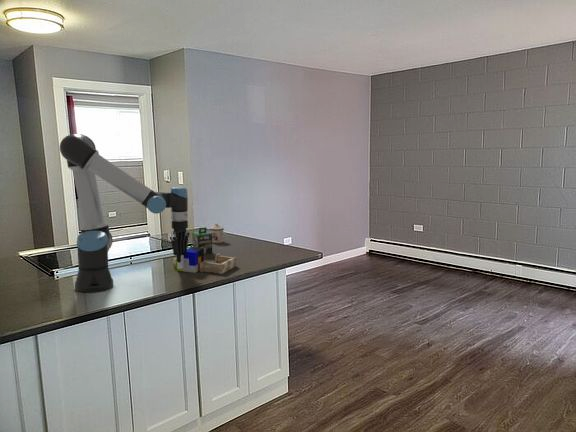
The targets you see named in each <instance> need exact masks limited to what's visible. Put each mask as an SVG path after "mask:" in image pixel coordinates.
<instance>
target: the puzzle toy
mask: <svg viewBox="0 0 576 432" xmlns="http://www.w3.org/2000/svg"><path fill="white" fill-rule="evenodd" d="M185 253H186V255H184V268H183V269H179V268H176V271H177V272H178V271H179V272H184V273H185V272H187V273H197V272H200V263H201V262H203V261H204V262H205V254H204V248H198V247H193V246H187V252H185ZM175 258H176V265H177V256H176V255H175Z"/></svg>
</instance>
